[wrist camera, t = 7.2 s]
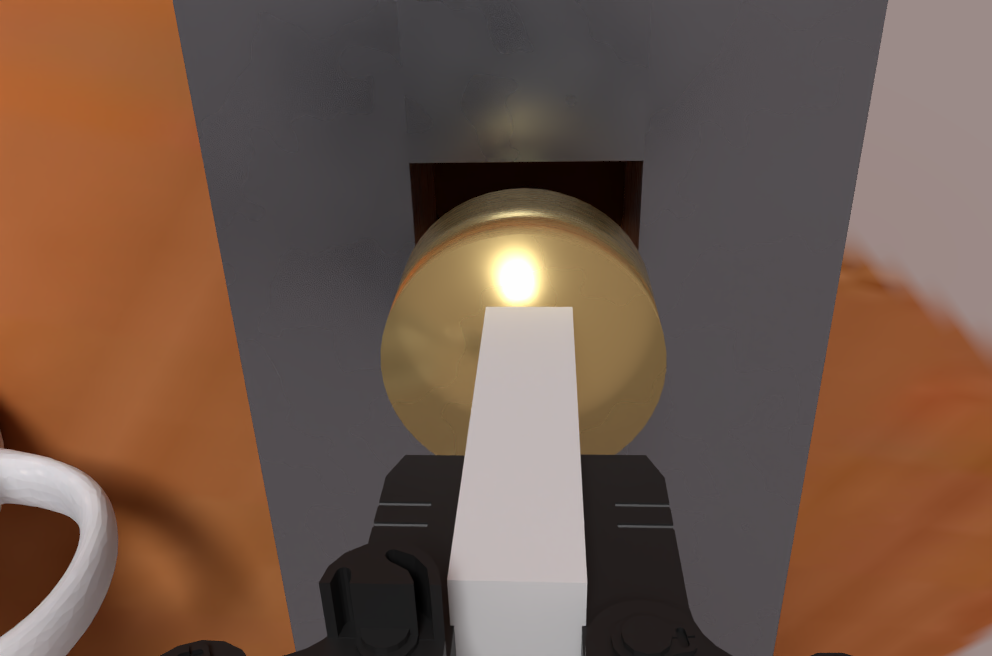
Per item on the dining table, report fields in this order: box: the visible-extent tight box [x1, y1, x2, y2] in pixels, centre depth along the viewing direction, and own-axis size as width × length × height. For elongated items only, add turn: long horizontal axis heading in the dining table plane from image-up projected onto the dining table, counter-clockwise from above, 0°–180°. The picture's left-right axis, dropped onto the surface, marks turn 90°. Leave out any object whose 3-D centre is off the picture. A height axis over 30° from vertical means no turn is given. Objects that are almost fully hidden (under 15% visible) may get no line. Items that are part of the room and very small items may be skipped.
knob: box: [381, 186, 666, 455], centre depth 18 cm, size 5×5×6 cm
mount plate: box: [173, 0, 888, 656], centre depth 25 cm, size 14×26×4 cm, turn 1°
